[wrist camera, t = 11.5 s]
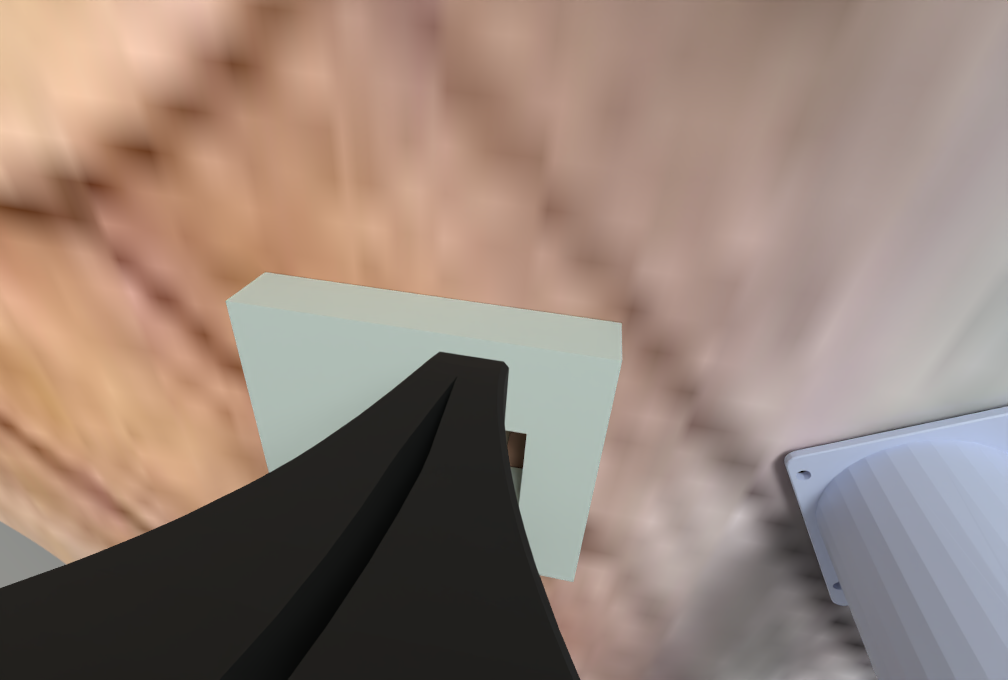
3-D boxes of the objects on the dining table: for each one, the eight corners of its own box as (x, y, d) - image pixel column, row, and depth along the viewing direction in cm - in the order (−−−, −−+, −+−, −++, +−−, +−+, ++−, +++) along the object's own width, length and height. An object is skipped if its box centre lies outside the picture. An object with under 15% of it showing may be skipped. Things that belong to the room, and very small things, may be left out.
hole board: (621, 323, 19) (621, 361, 17) (577, 535, 25) (573, 581, 23) (265, 272, 21) (225, 300, 19) (307, 483, 27) (281, 522, 25)
